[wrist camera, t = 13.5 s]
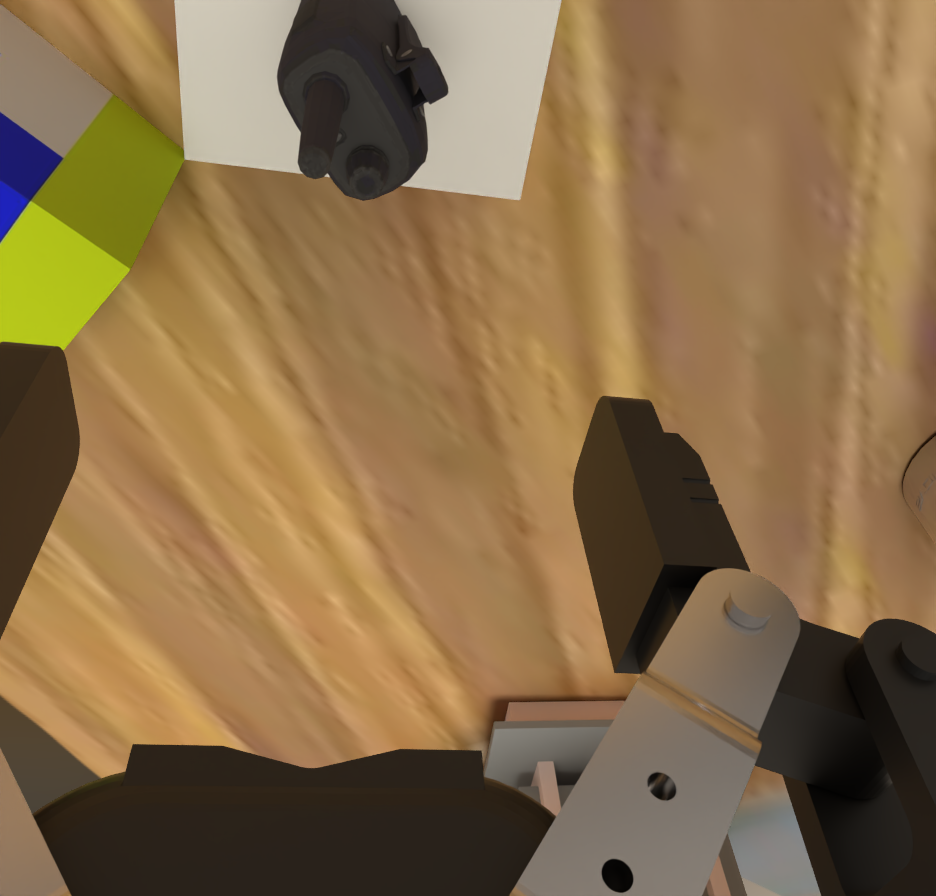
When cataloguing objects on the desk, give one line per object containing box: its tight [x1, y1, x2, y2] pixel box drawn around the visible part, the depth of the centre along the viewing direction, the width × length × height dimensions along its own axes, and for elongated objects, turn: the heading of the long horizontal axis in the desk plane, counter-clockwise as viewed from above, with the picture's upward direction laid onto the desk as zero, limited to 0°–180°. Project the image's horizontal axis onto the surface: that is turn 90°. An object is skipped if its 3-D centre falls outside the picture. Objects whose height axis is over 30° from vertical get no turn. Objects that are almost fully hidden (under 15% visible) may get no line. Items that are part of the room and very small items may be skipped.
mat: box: [175, 0, 561, 200], centre depth 31 cm, size 14×12×1 cm
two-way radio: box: [277, 0, 448, 201], centre depth 25 cm, size 6×4×15 cm
